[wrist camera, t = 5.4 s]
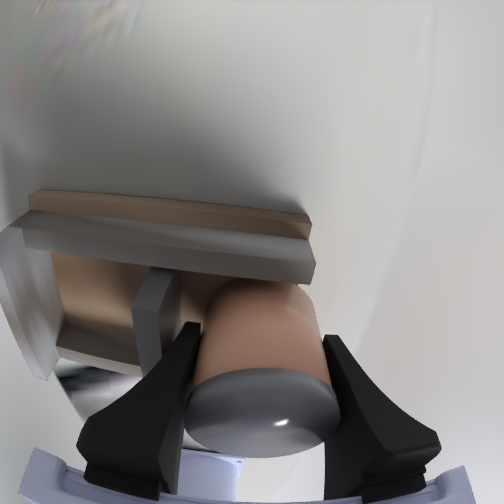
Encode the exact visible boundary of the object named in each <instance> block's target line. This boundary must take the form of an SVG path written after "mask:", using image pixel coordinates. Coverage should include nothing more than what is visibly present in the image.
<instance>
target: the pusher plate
mask: <svg viewBox="0 0 504 504" xmlns="http://www.w3.org/2000/svg"><path fill="white" fill-rule="evenodd" d="M131 313H132V320H133V327H134V333H135V339H136V345H137V351H138V356H139V362H140V367H141V372H142V377H144V376H145V375H146V374H147V373H148V372H149V371H150V370H151V369H152V368H153V367H154V366H155V365H156V363H157V362H158V361H159V360H160V359H161V358H162V356H163V355H164V354H165V353H166V351H167V350H168V348H169V347H170V346H171V344H172V343H173V342H174V340H175V339H176V337H177V335H178V334H179V332H180V331H181V270H176V269H169V268H161V267H154V266H152V267H151V269H150V271H149V272H148V274H147V276H146V278H145V280H144V282H143V284H142V286H141V288H140V290H139V292H138V294H137V296H136V298H135V300H134V302H133V304H132V306H131Z"/></svg>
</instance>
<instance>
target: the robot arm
mask: <svg viewBox="0 0 504 504" xmlns="http://www.w3.org/2000/svg"><path fill="white" fill-rule="evenodd" d="M200 337H201V323H198V322H190V321H187V322H185V323H184V325H183V327H182V329H181V331H180V332H179V334H178V335H177V337H176V339H175V340H174V342H173V343H172V344H171V346H170V347H169V348H168V350H167V351H166V353H165V354H164V355H163V356H162V358H161V359H160V360H159V361H158V362H157V363H156V365H155V366H154V367H153V368H152V369H151V370H150V371H149V372H148V373H147V374H146V375H145V376H144V377H143V378H142V379H141V380H140V381H139V382H138V383H137V384H136V385H135V386H134V387H133V388H131V389H130V390H129V391H128V392H127V393H125V394H124V395H123V396H121V397H120V398H119V399H117V400H116V401H114V402H113V403H112V404H110V405H109V406H107V407H106V408H104V409H102V410H101V411H99V412H97V413H95V414H94V415H92V416H90V417H89V418H88V419H87V421H86V423H85V424H84V427H83V428H82V430H81V433H80V436H79V438H78V441H77V444H76V447H77V449H78V451H79V452H80V453H81V455H82V456H83V457H84V458H85V460H86V461H87V462H88V463H87V466H86V469H85V472H83V471H81V470H78V469H75V468H72V467H70V466H67V465H66V463H65V462H64V461H63V460H62V459H60V458H59V457H57V456H54V455H52V454H50V453H47V452H45V451H42V450H40V449H38V448H34V449H33V452H32V454H31V457H30V459H29V462H28V465H27V468H26V470H25V473H24V476H23V479H22V482H21V484H20V487H19V491H18V493H19V495H21V496H23V497H24V498H26V499H27V500H29V501H30V502H32V503H34V504H476V502H475V499H474V495H473V492H472V488H471V485H470V482H469V479H468V476H467V473H466V470H465V467H464V466H460V467H457V468H454V469H451V470H448V471H446V472H444V473H442V474H441V475H439V476H438V477H436V479H433V480H430V481H426V482H425V478H424V475H423V474H424V473H425V472H426V468H425V465H426V464H427V463H428V462H430V461H431V460H432V459H433V458H435V457H436V456H437V455H438V454H439V452H440V451H441V444H440V441H439V439H438V436H437V433H436V432H435V431H434V430H432V429H430V428H428V427H427V426H425V425H423V424H421V423H420V422H418V421H417V420H415V419H414V418H412V417H411V416H409V415H408V414H407V413H405V412H404V411H403V410H402V409H400V408H399V407H398V406H397V405H396V404H394V403H393V402H392V401H391V400H390V399H389V398H388V397H387V396H386V395H385V394H384V393H383V392H382V391H381V390H380V389H379V388H378V387H377V386H376V385H375V384H374V383H373V382H372V380H371V379H370V378H369V377H368V376H367V374H366V373H365V372H364V371H363V369H362V368H361V367H360V365H359V364H358V363H357V361H356V360H355V359H354V357H353V356H352V354H351V353H350V352H349V350H348V349H347V347H346V346H345V344H344V343H343V342H342V340H341V339H340V337H339V336H338V335H327V334H325V337H324V339H323V342H322V343H323V348H324V352H325V357H326V361H327V366H328V371H329V375H330V380H331V385H332V389H333V390H334V391H335V394H336V396H337V400H338V405H339V410H340V416H341V421H340V425H339V427H338V429H337V430H336V432H335V433H334V434H333V435H332V436H331V437H330V438H328V439H327V440H326V441H324V444H325V486H324V500H323V501H311V502H294V503H293V502H291V503H252V502H237V482H238V479H239V476H240V473H241V470H242V467H243V464H244V461H245V457H239V456H232V455H228V454H220V453H210V452H202V451H194V450H187V449H182V442H183V435H184V423H183V420H184V414H185V408H186V402H187V398H188V396H189V394H190V392H191V388H192V382H193V376H194V371H195V365H196V359H197V353H198V348H199V342H200Z"/></svg>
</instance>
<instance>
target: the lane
mask: <svg viewBox="0 0 504 504" xmlns="http://www.w3.org/2000/svg"><path fill="white" fill-rule="evenodd" d="M28 198H29V205H30V210H29V211H28V212H27V213H25V214H24V215H22V216H21V217H20V218H18V219H17V220H16V221H14V222H13V223H12V224H10V225H9V226H8V227H6V228H5V229H4V230H2V231H1V232H0V303H1V306H2V308H3V311H4V313H5V316H6V318H7V321H8V323H9V326H10V328H11V330H12V332H13V335H14V337H15V339H16V341H17V343H18V346H19V348H20V350H21V351H22V354H23V356H24V358H25V360H26V362H27V364H28V366H29V368H30V370H31V372H32V373H33V375H34V376H35V377H37V378H40V379H43V380H46V381H47V380H48V378H49V376H50V374H51V372H52V371H53V369H54V367H55V365H56V363H57V361H58V359H59V358H60V357H62V358H65V359H68V360H72V361H75V362H79V363H83V364H87V365H90V366H94V367H98V368H102V369H106V370H111V371H115V372H119V373H124V374H129V375H133V376H138V377H142V372H141V367H140V362H139V356H138V351H137V345H136V339H135V333H134V327H133V320H132V313H131V306H132V304H133V302H134V300H135V298H136V296H137V294H138V292H139V290H140V288H141V286H142V284H143V282H144V280H145V278H146V276H147V274H148V272H149V271H150V269H151V267H152V266H154V267H161V268H169V269H176V270H181V329H182V327H183V325H184V323H185V322H187V321H190V322H198V323H201V331H202V325H203V320H204V315H205V310H206V306H207V304H208V302H209V300H210V299H211V297H212V296H213V295H214V294H215V292H217V291H218V290H219V289H220V288H221V287H223V286H225V285H226V284H228V283H230V282H232V281H235V280H237V279H240V278H251V279H260V280H269V281H279V282H288V283H294V284H295V285H298V284H307V285H310V284H311V281H312V277H313V273H314V269H315V266H316V262H315V259H314V255H313V252H312V249H311V246H310V243H309V235H310V231H311V227H312V223H311V221H310V218H309V216H307V215H300V214H292V213H285V212H278V211H270V210H262V209H254V208H246V207H238V206H229V205H221V204H212V203H202V202H193V201H183V200H173V199H162V198H151V197H140V196H128V195H115V194H101V193H86V192H70V191H51V190H38V191H36V192H35V193H33V194H31V195H30V196H28Z"/></svg>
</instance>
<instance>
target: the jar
mask: <svg viewBox="0 0 504 504" xmlns="http://www.w3.org/2000/svg"><path fill="white" fill-rule="evenodd" d="M340 421H341V416H340V410H339V405H338V400H337V396H336V394H335V391H334V390H333V389H332V385H331V380H330V375H329V371H328V366H327V361H326V357H325V352H324V348H323V343H322V339H321V335H320V330H319V326H318V322H317V317H316V313H315V309H314V305H313V303H312V301H311V299H310V298H309V296H308V295H307V294H306V293H305V291H303V290H302V289H301V288H300V287H298V286H297V285H295V284H294V283H288V282H279V281H269V280H260V279H251V278H240V279H237V280H235V281H232V282H230V283H228V284H226V285H225V286H223V287H221V288H220V289H219V290H218V291H217V292H215V294H214V295H213V296H212V297H211V299H210V300H209V302H208V304H207V306H206V310H205V315H204V320H203V325H202V331H201V337H200V342H199V348H198V353H197V359H196V365H195V371H194V376H193V382H192V388H191V392H190V394H189V396H188V398H187V402H186V408H185V414H184V420H183V423H184V428H185V430H186V432H187V433H188V434H189V436H190V437H191V438H192V439H194V440H195V441H196V442H198V443H199V444H201V445H203V446H205V447H207V448H209V449H211V450H214V451H217V452H220V453H224V454H228V455H232V456H239V457H248V458H270V457H280V456H286V455H291V454H295V453H299V452H302V451H305V450H308V449H310V448H313V447H315V446H317V445H319V444H321V443H322V442H324V441H326V440H327V439H328V438H330V437H331V436H332V435H333V434H334V433H335V432H336V430H337V429H338V427H339V425H340Z"/></svg>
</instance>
